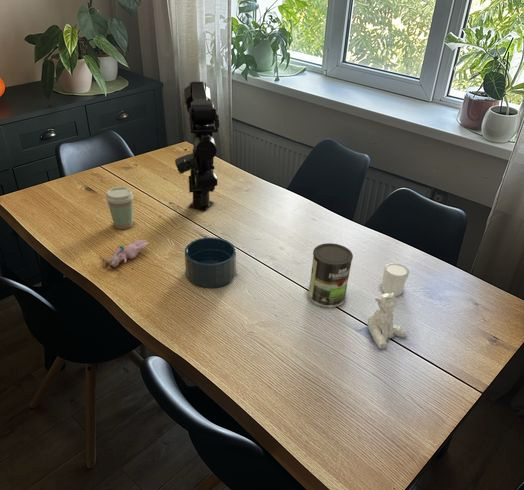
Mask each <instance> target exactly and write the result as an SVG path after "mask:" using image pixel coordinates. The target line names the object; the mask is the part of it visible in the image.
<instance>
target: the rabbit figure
mask: <svg viewBox="0 0 524 490" xmlns="http://www.w3.org/2000/svg"><path fill="white" fill-rule="evenodd" d="M148 244H150V242H147V240H145V239H137V240H134V241H133V242H132V243H131V244H127V245H126V246H124V245H123V244H120V245H118V249H117V250H116V251H115V252H113V253H112V255H111V256H110V257H109V258H108V259H105V260H104V261H102V265H103V266H104V268H105V267H106V263H107V264H108V265H107V269H109V270H111V267H112V268H117V267H118V266H119V265H120V263H121V262H123V263H124V264H125V263H127V260H128V259H129V260H133V259H135V258H136V256H137V255H138V253H139V252H140V251H142V250H143V248H145V247H146V246H147V245H148Z"/></svg>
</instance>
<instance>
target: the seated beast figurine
mask: <svg viewBox="0 0 524 490" xmlns="http://www.w3.org/2000/svg"><path fill="white" fill-rule="evenodd" d="M374 300H375V302H377V305H378V308H377V309H375V311H374V313H373V314H372V315H370V316H368V318H367V329H368V331H369V334H370V335H371V338H373V341H374V343H375V344H376V346H377V348H378V349H380V350H381V349H382V350H383V349H385V348H387V345H388V344H387V341H388V339H392V338H393V337H396V336H397V337H399V338H403V339H404V337H405V335H406V333H407V332H406V330H405V329H403V327H402V326H401V325H398V324H396V323H394V322H393V321H394V310H395V308H396V307H397V298H396V296H394V293H391V294H389V293H382V294H381V295H380V296H378V297H375V299H374Z"/></svg>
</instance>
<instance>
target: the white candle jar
mask: <svg viewBox="0 0 524 490" xmlns="http://www.w3.org/2000/svg"><path fill="white" fill-rule="evenodd" d="M382 274H383V275H382V282H381V283H382V284H381V290H382V293H383V294H385V293H389V294H391V293H394V296H395V297H397V296H401V294H402V293H403V290H404V288H405V285H406V283H407V280H408V278H409V274H410V270H409V268H408V267H407V266H406V265H404V264H401V263H397V262H389V263H387V264H385V265H384V267H383V273H382Z"/></svg>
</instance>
